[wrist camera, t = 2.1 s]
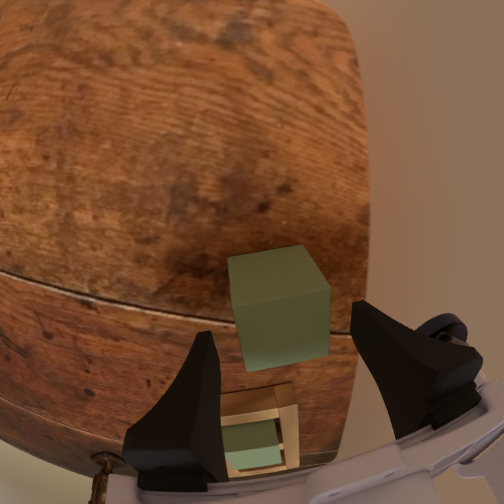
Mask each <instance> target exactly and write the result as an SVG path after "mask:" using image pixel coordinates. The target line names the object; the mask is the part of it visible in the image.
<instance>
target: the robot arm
mask: <svg viewBox="0 0 504 504" xmlns="http://www.w3.org/2000/svg"><path fill="white" fill-rule="evenodd" d="M350 334H351V336H352V339H353V341H354V344H355V346H356V348H357V350H358V352H359V353H360V355H361V357H362V359H363V360H364V362H365V364H366V365H367V367H368V369H369V371H370V372H371V374H372V376H373V378H374V379H375V381H376V383H377V385H378V388H379V390H380V392H381V395H382V398H383V400H384V403H385V406H386V408H387V411H388V414H389V417H390V421H391V424H392V427H393V430H394V435H395V438H396V441H394V442H391V443H389V444H386V445H384V446H381V447H379V448H376V449H373V450H371V451H368V452H365V453H362V454H360V455H356V456H353V457H350V458H347V459H344V460H341V461H337V462H334V463H330V464H327V465H323V466H319V467H315V468H311V469H307V470H303V471H298V472H294V473H289V474H284V475H278V476H272V477H266V478H259V479H252V480H244V481H234V482H229V477H228V471H227V465H226V459H225V452H224V445H223V437H222V428H221V416H220V404H221V372H220V362H219V357H218V354H217V350H216V347H215V344H214V341H213V337H212V334H211V331H204V332H198V333H197V335H196V337H195V340H194V343H193V345H192V347H191V350H190V352H189V354H188V356H187V358H186V360H185V362H184V364H183V366H182V368H181V369H180V371H179V373H178V375H177V376H176V378H175V380H174V381H173V383H172V384H171V386H170V387H169V388H168V390H167V391H166V392H165V394H164V395H163V396H162V397H161V399H160V400H159V401H158V402H157V403H156V405H155V406H154V407H153V408H152V409H151V410H150V411H149V412H148V413H147V414H146V415H145V416H144V417H142V418H141V419H140V420H139V421H138V422H136V423H135V424H134V425H133V426H131V427H130V428H129V429H127V432H126V435H125V438H124V443H123V449H122V458H123V459H124V460H125V461H126V462H127V463H128V464H129V465H130V466H132V467H133V468H134V469H135V470H136V471H138V478H136V477H133V476H128V475H119V474H109V478H108V485H107V493H106V501H105V504H443V503H442V501H441V498H440V496H439V494H438V492H437V489H436V487H435V485H434V483H433V481H432V479H434V478H435V477H437V476H439V475H440V474H442V473H444V472H445V471H447V470H448V469H450V468H451V467H453V469H454V470H455V472H456V473H457V475H458V476H460V478H480V477H485V478H486V480H487V482H488V484H489V486H490V488H491V490H492V492H493V494H494V496H495V498H496V500H497V502H498V504H504V437H503V438H502V439H501V440H500V441H498V442H497V443H496V444H495V445H494V446H493V447H492V448H490V449H489V450H488V451H487V452H486V453H484V454H483V455H482V456H481V457H480V458H478V459H477V460H474V461H473V460H472V459H474V458H475V457H476V456H478V455H479V454H480V453H481V452H482V451H484V450H485V449H486V448H487V447H488V446H489V445H491V444H492V443H493V442H494V441H495V440H496V439H498V438H499V437H500V436H501V435H502V434H503V433H504V384H503V383H502V382H501V381H496V380H493V381H492V382H490V383H489V382H488V381H487V379H486V376H485V374H484V373H483V372H482V370H481V367H482V364H483V357H482V356H481V355H480V354H479V353H478V352H477V351H476V349H475V348H474V347H469V344H468V343H467V342H465V341H462V340H460V339H458V338H456V337H454V336H452V335H450V334H448V333H445V332H443V331H442V332H440V333H439V334H438V336H437V337H436V338H435V339H434V338H431V337H428V336H426V335H423V334H421V333H419V332H416V331H414V330H412V329H409V328H408V327H406V326H404V325H403V324H401V323H399V322H397V321H396V320H394V319H392V318H390V317H389V316H387V315H386V314H384V313H383V312H381V311H380V310H378V309H377V308H375V307H373V306H372V305H370V304H369V303H367V302H366V301H364V300H361V301H357V302H353V303H352V315H351V326H350Z"/></svg>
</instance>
